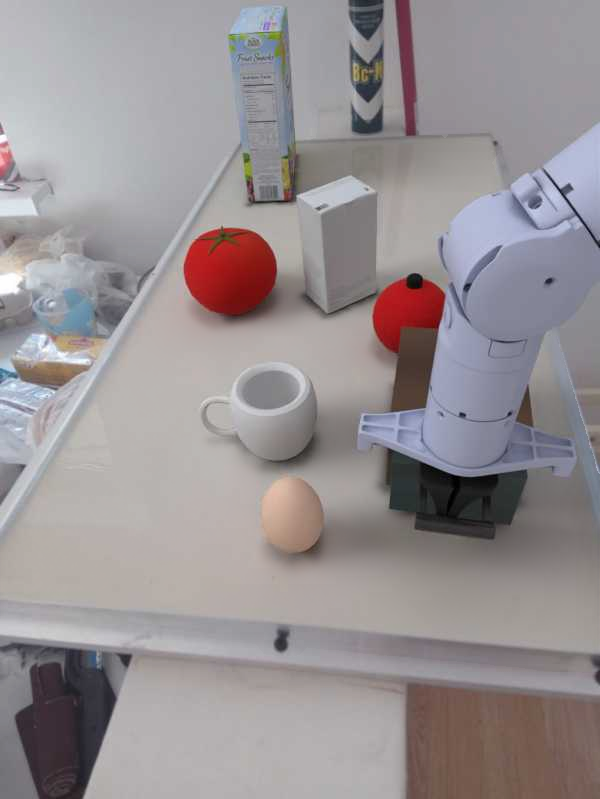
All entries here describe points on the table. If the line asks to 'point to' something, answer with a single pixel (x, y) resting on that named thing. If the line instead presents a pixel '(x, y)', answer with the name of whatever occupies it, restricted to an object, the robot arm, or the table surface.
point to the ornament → (407, 309)
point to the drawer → (471, 520)
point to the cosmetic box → (339, 242)
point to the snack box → (264, 101)
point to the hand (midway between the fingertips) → (445, 510)
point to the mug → (269, 410)
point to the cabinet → (424, 378)
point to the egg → (292, 515)
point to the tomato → (230, 270)
